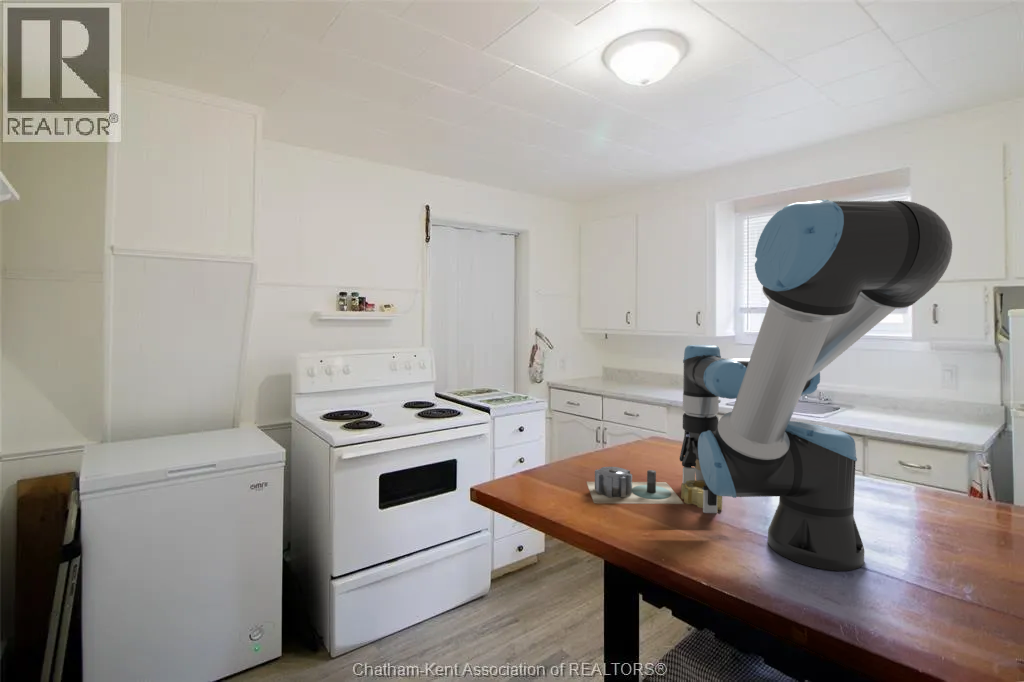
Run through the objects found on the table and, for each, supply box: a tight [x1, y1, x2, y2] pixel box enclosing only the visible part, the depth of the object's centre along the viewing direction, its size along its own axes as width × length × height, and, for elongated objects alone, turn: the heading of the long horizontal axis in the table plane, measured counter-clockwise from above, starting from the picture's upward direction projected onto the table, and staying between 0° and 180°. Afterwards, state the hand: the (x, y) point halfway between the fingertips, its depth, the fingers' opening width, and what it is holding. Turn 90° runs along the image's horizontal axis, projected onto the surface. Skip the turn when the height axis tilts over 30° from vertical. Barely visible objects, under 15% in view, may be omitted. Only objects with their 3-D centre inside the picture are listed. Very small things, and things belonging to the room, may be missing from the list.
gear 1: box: [594, 466, 633, 497], centre depth 116 cm, size 8×8×5 cm
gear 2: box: [680, 479, 723, 514], centre depth 111 cm, size 8×8×5 cm
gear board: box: [586, 469, 685, 505], centre depth 116 cm, size 14×20×7 cm
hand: (698, 506), depth 111 cm, fingers open, 13 cm apart
